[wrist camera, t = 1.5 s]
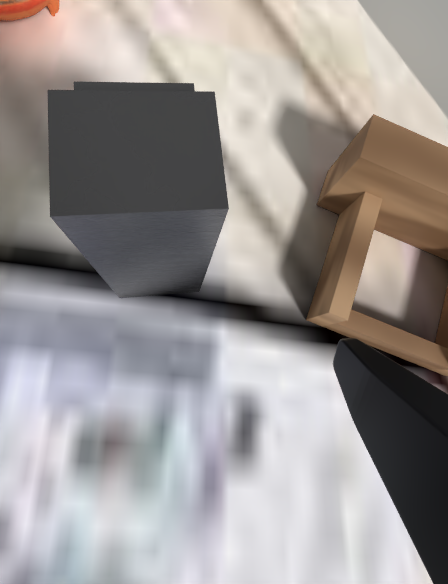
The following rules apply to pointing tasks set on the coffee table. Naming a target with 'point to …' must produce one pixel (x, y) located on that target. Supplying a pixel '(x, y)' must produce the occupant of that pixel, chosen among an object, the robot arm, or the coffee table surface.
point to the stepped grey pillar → (138, 181)
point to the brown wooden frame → (383, 230)
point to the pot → (25, 8)
